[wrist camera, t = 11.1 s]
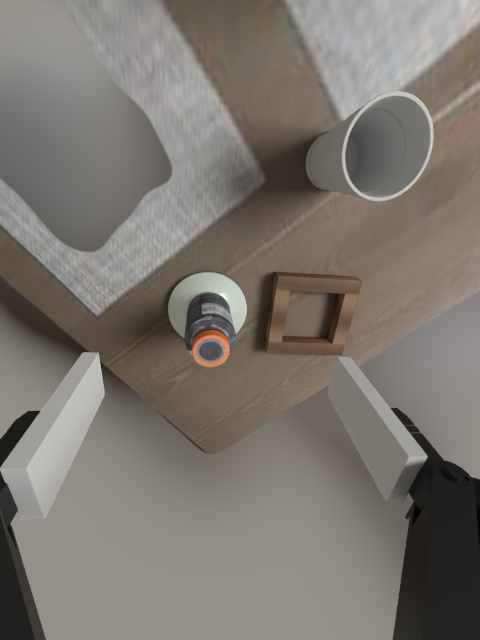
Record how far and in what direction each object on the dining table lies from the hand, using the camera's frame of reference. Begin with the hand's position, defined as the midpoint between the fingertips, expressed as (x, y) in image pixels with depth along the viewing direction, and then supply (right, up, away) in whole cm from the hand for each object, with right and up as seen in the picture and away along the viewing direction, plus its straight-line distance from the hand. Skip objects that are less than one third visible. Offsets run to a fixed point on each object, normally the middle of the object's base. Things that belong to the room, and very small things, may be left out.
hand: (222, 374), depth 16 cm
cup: (+12, +22, +19) cm, 32 cm away
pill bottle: (-3, +4, +24) cm, 25 cm away
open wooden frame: (+11, +4, +27) cm, 30 cm away
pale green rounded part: (-4, +5, +25) cm, 26 cm away
